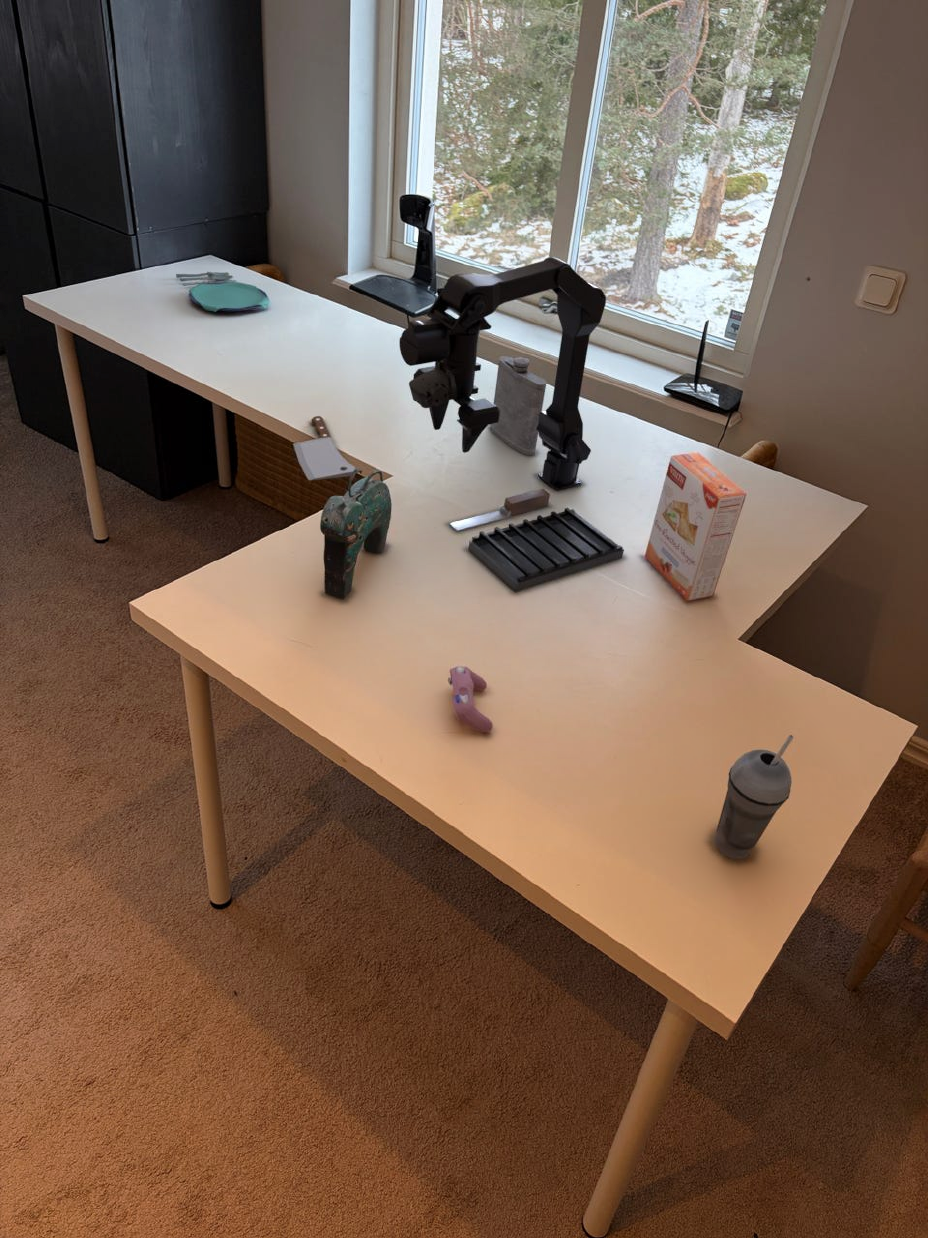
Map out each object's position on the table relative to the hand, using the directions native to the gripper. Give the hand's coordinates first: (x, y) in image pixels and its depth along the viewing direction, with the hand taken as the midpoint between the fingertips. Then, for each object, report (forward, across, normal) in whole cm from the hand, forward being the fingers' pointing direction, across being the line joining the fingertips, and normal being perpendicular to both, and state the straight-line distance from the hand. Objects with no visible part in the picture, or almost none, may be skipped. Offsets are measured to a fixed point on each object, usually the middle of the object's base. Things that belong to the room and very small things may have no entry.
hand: (451, 440), depth 167 cm
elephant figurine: (+14, +10, -24) cm, 30 cm away
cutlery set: (+15, -116, +5) cm, 117 cm away
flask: (+15, -18, +29) cm, 37 cm away
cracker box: (+15, +36, +26) cm, 47 cm away
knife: (+14, +6, +9) cm, 18 cm away
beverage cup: (+15, +83, -10) cm, 85 cm away
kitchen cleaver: (+15, -30, -10) cm, 35 cm away
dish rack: (+14, +20, +9) cm, 26 cm away
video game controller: (+14, +47, -26) cm, 56 cm away
